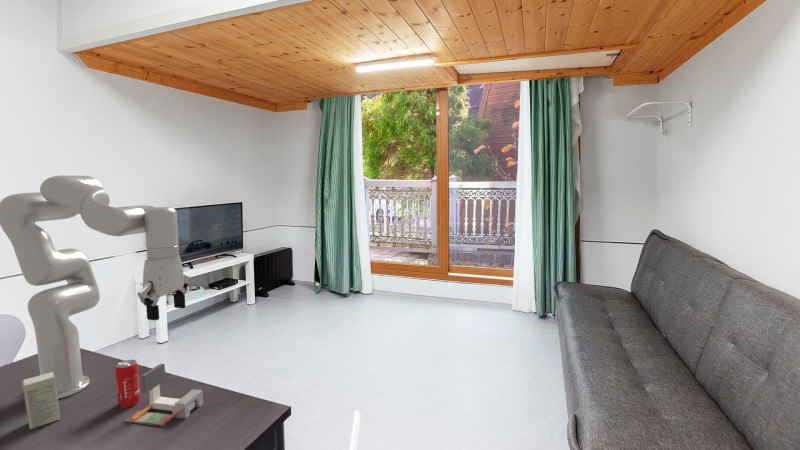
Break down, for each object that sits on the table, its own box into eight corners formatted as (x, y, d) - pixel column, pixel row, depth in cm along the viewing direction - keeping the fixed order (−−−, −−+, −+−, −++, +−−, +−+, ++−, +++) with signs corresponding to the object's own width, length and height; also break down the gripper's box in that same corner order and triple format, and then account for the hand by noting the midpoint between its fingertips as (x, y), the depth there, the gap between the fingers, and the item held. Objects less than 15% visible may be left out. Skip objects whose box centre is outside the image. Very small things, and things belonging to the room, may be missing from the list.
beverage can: (129, 409, 110) (126, 368, 108) (114, 407, 111) (110, 366, 109) (144, 399, 115) (141, 360, 113) (129, 397, 116) (126, 358, 114)
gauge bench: (124, 421, 104) (123, 406, 104) (157, 398, 115) (156, 385, 115) (174, 428, 102) (173, 412, 101) (203, 404, 112) (202, 390, 112)
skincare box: (59, 412, 108) (54, 370, 107) (60, 419, 105) (56, 376, 104) (27, 423, 104) (22, 379, 102) (27, 430, 100) (22, 385, 99)
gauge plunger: (131, 421, 104) (128, 382, 103) (163, 398, 115) (160, 363, 113) (171, 426, 102) (168, 387, 101) (200, 402, 113) (197, 367, 111)
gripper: (174, 246, 116) (177, 302, 118) (123, 258, 99) (128, 323, 101) (197, 247, 115) (200, 304, 117) (149, 259, 98) (154, 325, 100)
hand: (167, 313), depth 109 cm, fingers open, 9 cm apart
